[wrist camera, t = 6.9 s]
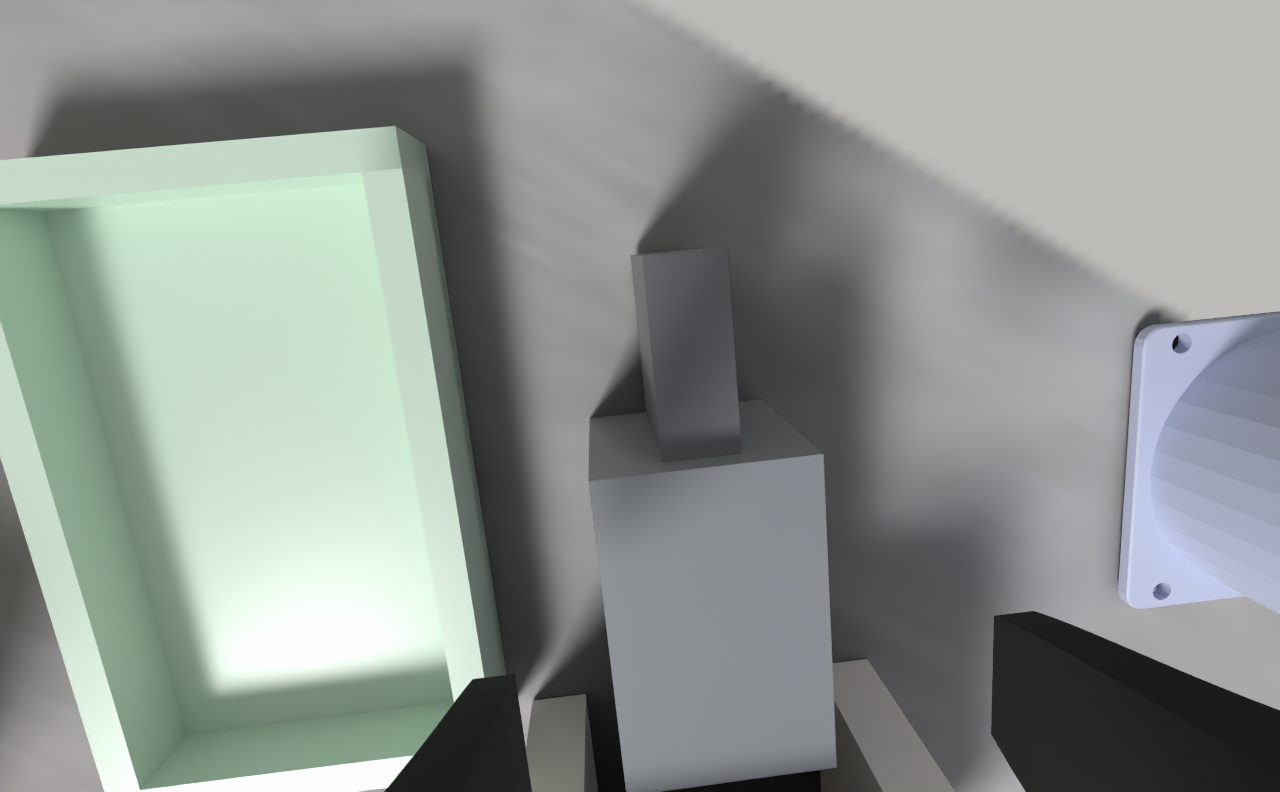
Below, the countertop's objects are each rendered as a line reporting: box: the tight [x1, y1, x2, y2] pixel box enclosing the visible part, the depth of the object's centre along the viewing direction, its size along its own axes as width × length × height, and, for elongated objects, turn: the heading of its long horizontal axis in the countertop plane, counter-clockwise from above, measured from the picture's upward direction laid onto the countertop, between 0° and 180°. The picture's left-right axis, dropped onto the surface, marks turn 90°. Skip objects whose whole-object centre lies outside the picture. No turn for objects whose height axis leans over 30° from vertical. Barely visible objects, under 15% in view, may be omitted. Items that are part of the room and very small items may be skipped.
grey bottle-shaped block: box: [589, 248, 837, 792], centre depth 16 cm, size 4×11×5 cm, turn 6°
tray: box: [0, 126, 507, 792], centre depth 16 cm, size 9×15×2 cm, turn 6°
